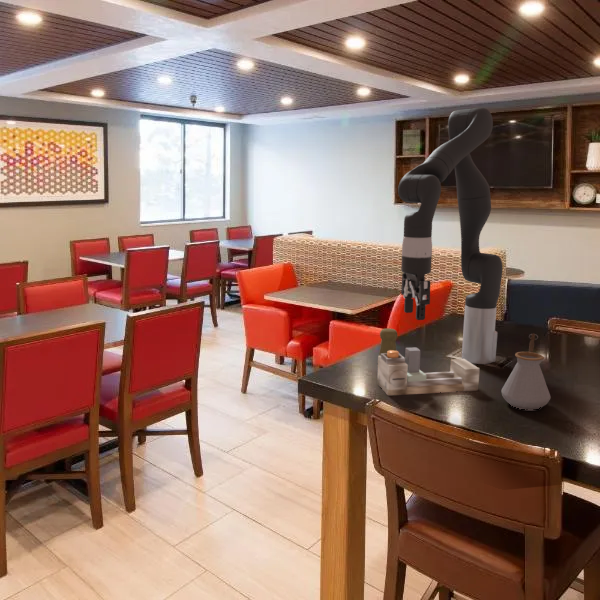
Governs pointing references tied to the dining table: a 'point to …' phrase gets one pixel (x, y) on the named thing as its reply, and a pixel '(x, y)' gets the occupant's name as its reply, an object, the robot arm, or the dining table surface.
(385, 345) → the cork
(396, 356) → the button
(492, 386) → the dining table surface
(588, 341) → the dining table surface
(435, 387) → the rail
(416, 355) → the carriage
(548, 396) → the coffee pot
